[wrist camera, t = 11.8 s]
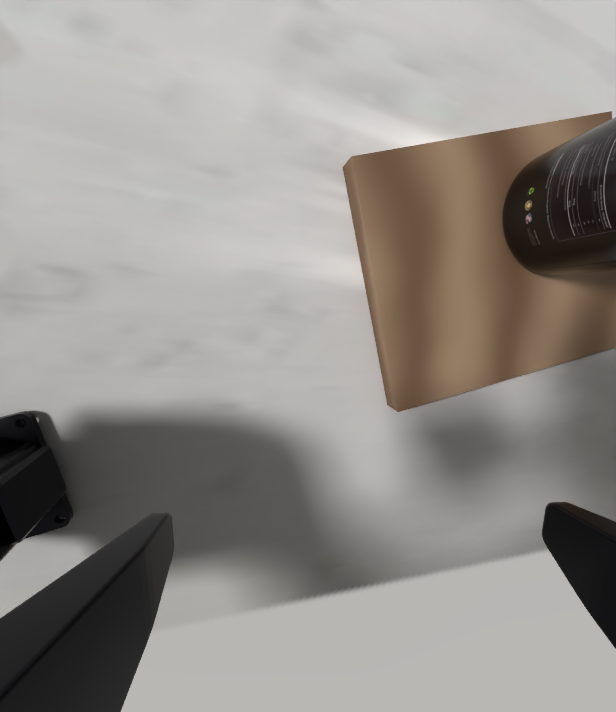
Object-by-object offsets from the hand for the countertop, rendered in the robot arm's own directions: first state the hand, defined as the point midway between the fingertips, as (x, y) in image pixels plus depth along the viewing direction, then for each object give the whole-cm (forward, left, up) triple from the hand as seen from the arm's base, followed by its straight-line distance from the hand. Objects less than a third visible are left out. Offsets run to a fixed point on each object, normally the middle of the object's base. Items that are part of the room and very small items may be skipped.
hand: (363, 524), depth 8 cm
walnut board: (+14, +4, -13) cm, 19 cm away
